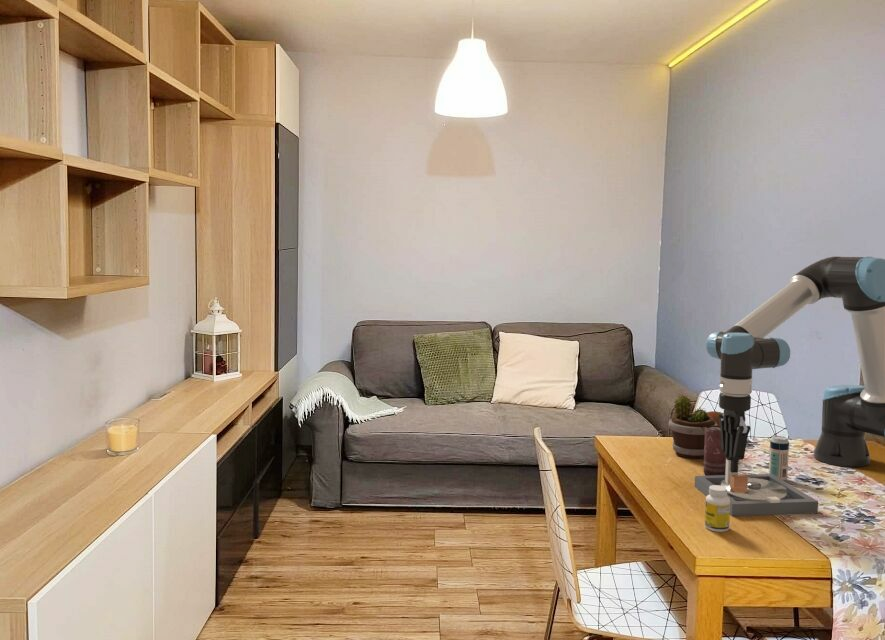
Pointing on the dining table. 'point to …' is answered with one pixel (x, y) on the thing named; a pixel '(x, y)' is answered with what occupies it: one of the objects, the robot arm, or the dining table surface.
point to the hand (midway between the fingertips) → (731, 483)
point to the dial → (753, 488)
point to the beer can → (779, 457)
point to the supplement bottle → (717, 509)
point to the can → (713, 452)
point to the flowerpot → (689, 428)
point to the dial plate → (771, 506)
